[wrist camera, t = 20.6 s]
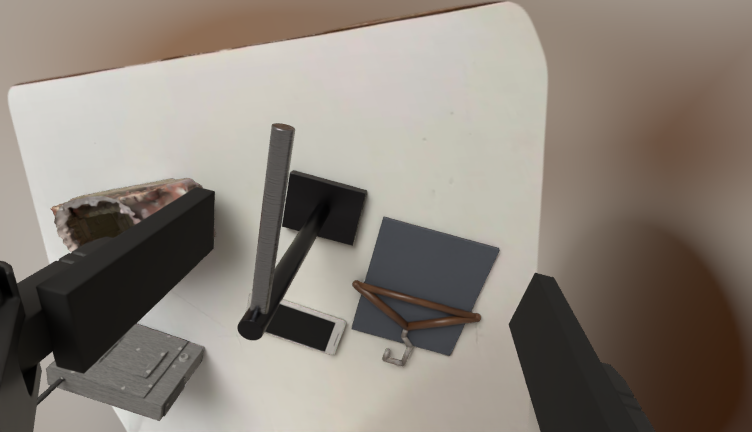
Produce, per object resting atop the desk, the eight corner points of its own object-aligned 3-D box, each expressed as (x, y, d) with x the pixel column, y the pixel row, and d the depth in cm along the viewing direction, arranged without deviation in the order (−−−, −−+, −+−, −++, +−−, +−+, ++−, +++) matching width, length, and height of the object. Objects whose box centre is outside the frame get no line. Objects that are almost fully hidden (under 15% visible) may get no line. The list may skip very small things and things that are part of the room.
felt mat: (498, 247, 48) (499, 250, 48) (449, 353, 57) (450, 356, 56) (383, 216, 48) (383, 218, 48) (352, 326, 57) (351, 329, 56)
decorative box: (81, 151, 49) (8, 173, 40) (217, 141, 46) (170, 162, 38) (118, 237, 55) (61, 273, 46) (243, 232, 52) (207, 269, 43)
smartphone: (252, 288, 56) (249, 292, 55) (346, 320, 56) (345, 325, 55) (244, 322, 59) (242, 326, 58) (334, 352, 59) (333, 356, 59)
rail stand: (354, 241, 50) (305, 383, 29) (284, 222, 50) (185, 350, 29) (389, 101, 42) (358, 155, 21) (306, 78, 42) (189, 109, 21)
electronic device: (108, 330, 63) (-16, 442, 45) (108, 302, 61) (-24, 409, 43) (203, 362, 64) (119, 484, 46) (208, 335, 61) (120, 455, 43)
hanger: (483, 318, 51) (451, 381, 57) (481, 312, 52) (450, 375, 58) (352, 282, 51) (334, 350, 57) (354, 277, 52) (335, 344, 58)
